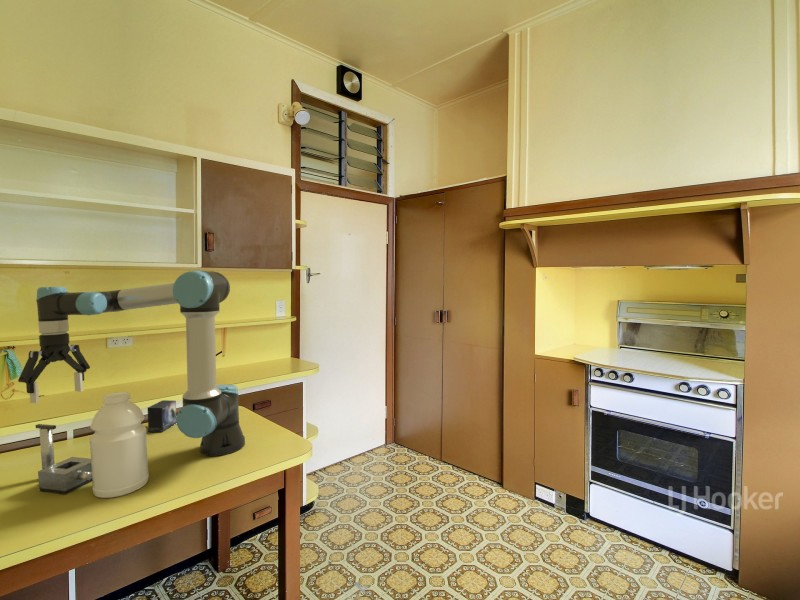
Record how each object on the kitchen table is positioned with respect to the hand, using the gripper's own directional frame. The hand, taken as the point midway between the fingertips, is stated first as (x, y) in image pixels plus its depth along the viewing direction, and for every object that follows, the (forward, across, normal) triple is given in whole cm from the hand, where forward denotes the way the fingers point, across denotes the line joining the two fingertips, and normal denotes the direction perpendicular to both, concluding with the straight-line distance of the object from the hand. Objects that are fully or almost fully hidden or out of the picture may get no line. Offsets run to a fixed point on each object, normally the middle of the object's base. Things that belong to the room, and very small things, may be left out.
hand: (57, 396), depth 134 cm
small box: (+24, -37, +4) cm, 45 cm away
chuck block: (+24, +8, +17) cm, 30 cm away
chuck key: (+24, +7, +4) cm, 25 cm away
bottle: (+24, +6, +33) cm, 41 cm away
